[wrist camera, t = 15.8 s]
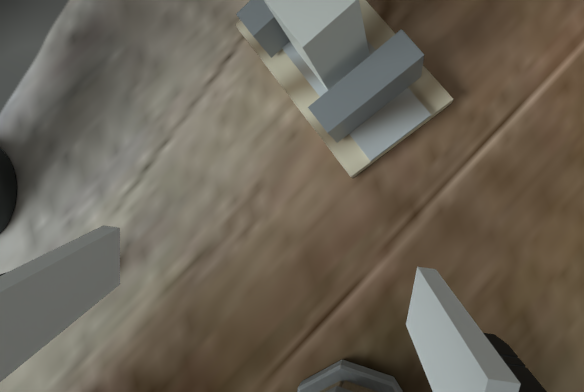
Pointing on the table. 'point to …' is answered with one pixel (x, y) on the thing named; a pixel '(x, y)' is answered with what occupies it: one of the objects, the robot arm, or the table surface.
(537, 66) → the table surface
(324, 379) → the tankard
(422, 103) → the mounting board
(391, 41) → the mounted modules
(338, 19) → the block
